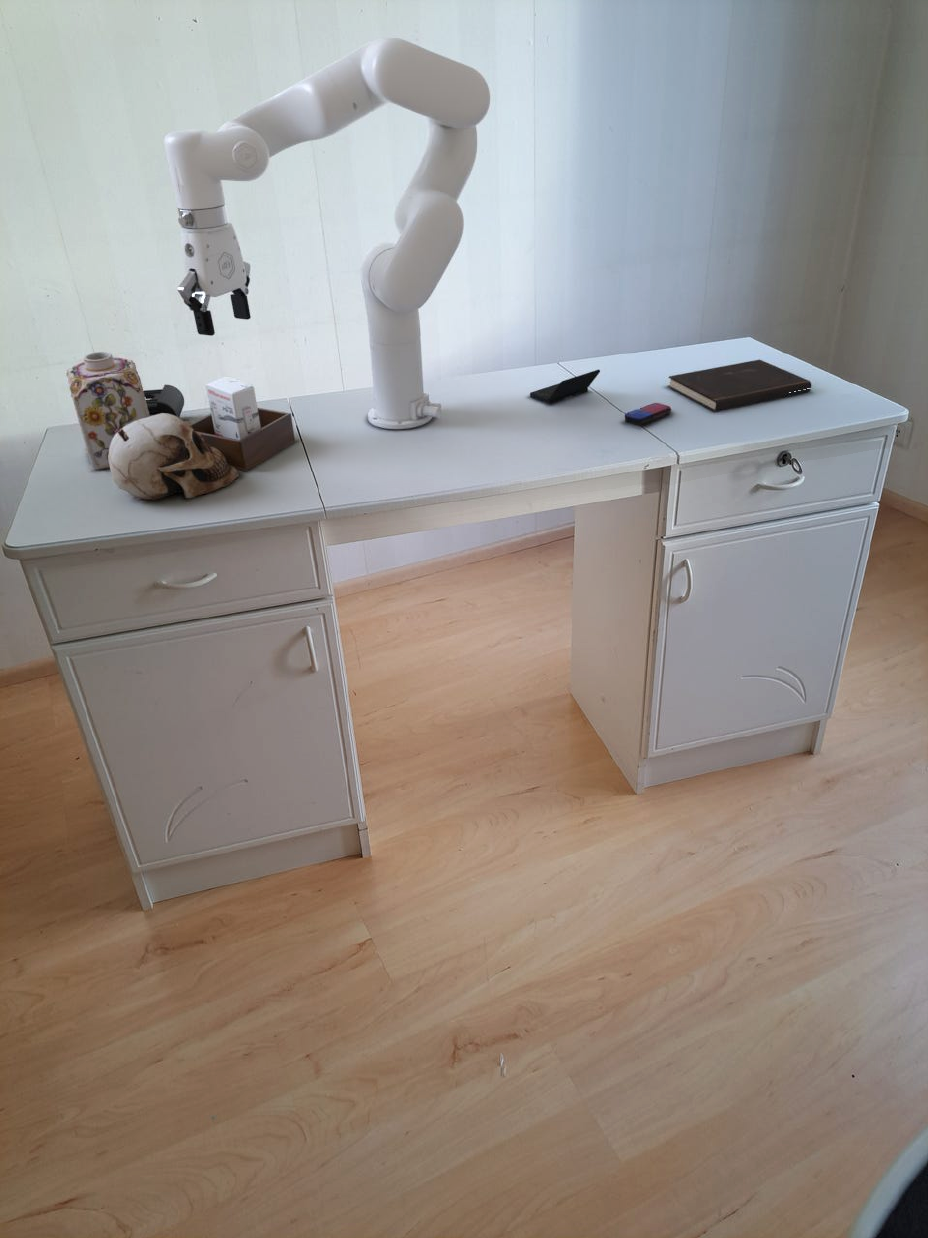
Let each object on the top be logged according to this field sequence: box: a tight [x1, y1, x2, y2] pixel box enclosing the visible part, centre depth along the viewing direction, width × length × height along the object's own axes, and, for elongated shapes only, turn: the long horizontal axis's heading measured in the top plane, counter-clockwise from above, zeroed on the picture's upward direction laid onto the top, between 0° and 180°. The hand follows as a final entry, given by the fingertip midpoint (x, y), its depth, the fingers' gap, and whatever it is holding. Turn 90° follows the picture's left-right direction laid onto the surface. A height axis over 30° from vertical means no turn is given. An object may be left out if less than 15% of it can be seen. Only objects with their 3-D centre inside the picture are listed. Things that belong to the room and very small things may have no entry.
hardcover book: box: [667, 359, 812, 412], centre depth 175 cm, size 16×23×2 cm
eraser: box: [624, 402, 672, 427], centre depth 164 cm, size 11×4×2 cm, turn 133°
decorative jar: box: [66, 351, 150, 471], centre depth 153 cm, size 12×12×18 cm
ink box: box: [205, 376, 261, 440], centre depth 154 cm, size 9×5×12 cm, turn 47°
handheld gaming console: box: [529, 369, 601, 406], centre depth 174 cm, size 12×7×10 cm
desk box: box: [189, 407, 296, 472], centre depth 156 cm, size 14×14×6 cm
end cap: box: [143, 384, 185, 418], centre depth 166 cm, size 10×7×7 cm
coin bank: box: [108, 413, 240, 501], centre depth 142 cm, size 16×17×13 cm
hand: (225, 326), depth 149 cm, fingers open, 9 cm apart
